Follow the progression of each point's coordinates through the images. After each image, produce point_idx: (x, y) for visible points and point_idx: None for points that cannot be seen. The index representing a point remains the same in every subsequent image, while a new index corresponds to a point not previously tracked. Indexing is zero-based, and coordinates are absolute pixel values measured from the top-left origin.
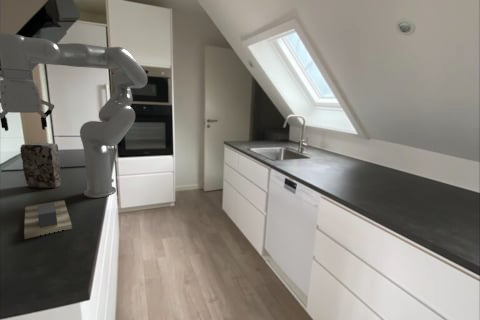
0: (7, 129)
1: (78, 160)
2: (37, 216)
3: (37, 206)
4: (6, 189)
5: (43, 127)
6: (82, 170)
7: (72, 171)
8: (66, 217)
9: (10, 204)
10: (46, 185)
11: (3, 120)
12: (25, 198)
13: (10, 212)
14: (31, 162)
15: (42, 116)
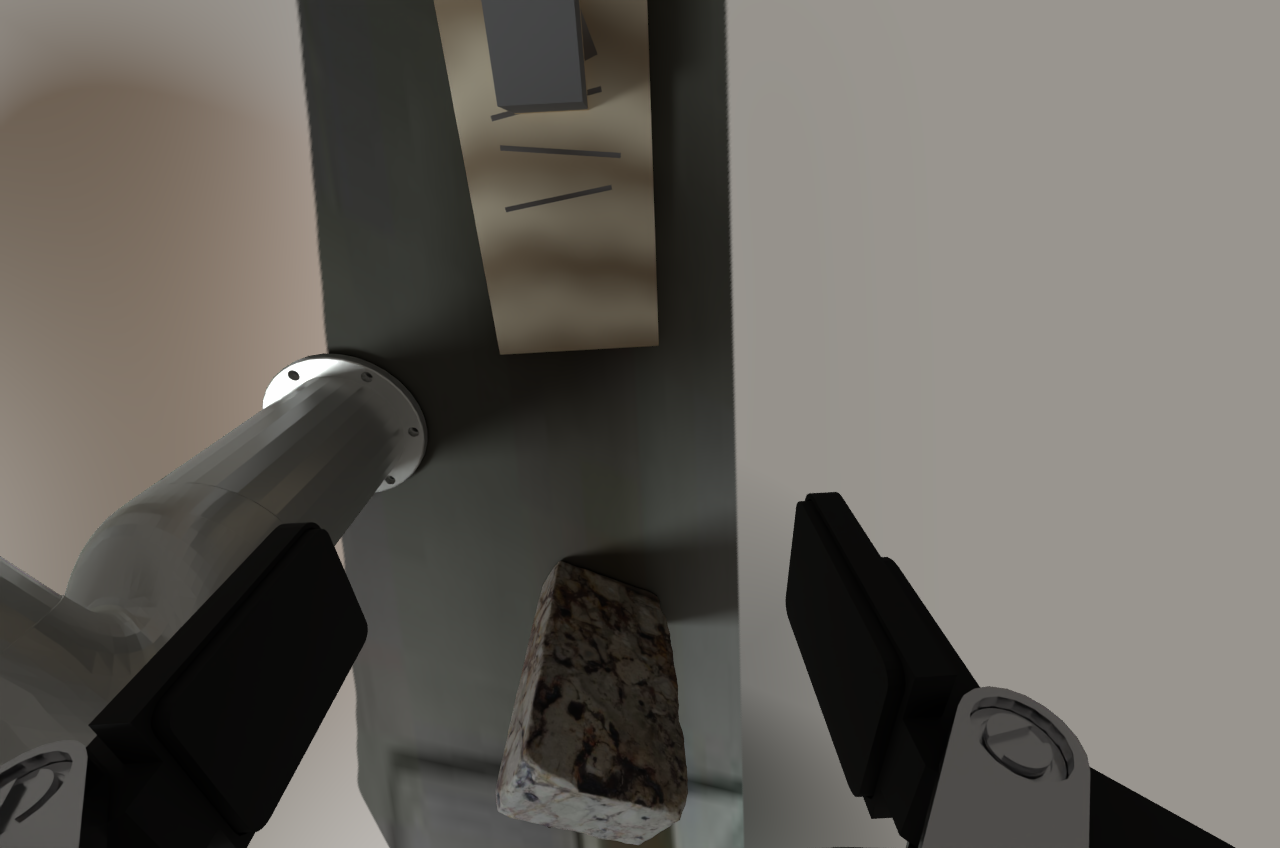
0: (806, 507)
1: (499, 836)
2: (600, 172)
3: (581, 90)
4: (732, 609)
5: (279, 544)
6: (471, 728)
7: None
8: (460, 69)
9: (715, 440)
10: (592, 580)
11: (926, 627)
12: (665, 486)
13: (712, 344)
14: (640, 695)
15: (77, 784)
